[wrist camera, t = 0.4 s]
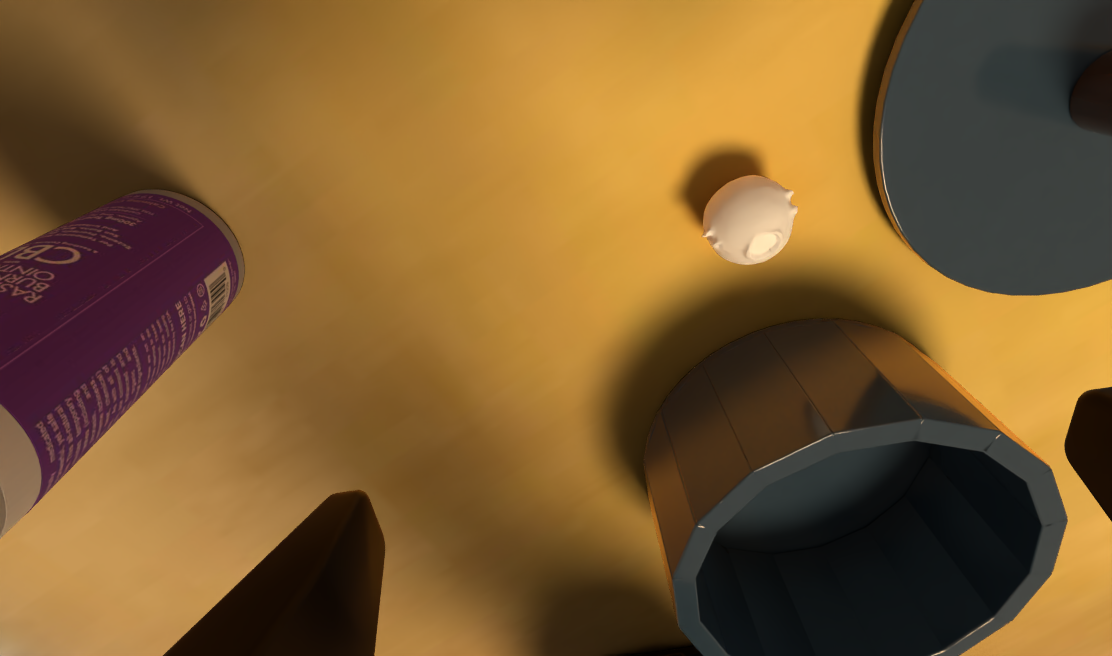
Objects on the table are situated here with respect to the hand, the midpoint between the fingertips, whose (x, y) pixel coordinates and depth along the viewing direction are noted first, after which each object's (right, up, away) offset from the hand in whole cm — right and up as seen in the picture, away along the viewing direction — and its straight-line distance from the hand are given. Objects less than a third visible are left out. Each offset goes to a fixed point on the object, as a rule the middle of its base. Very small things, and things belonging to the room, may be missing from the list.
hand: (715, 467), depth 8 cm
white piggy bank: (+4, +6, +13) cm, 15 cm away
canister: (+8, -3, +18) cm, 20 cm away
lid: (+14, +9, +11) cm, 20 cm away
